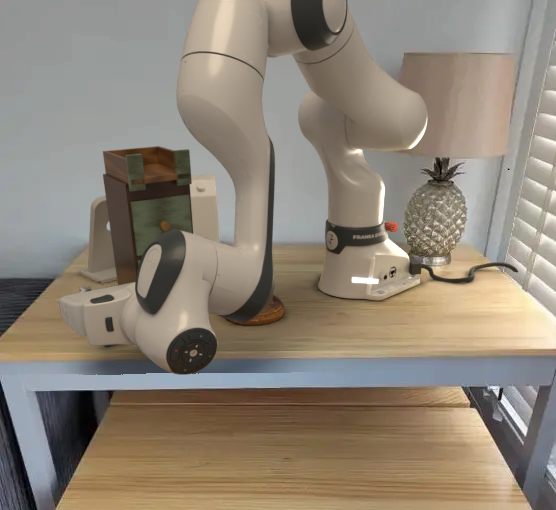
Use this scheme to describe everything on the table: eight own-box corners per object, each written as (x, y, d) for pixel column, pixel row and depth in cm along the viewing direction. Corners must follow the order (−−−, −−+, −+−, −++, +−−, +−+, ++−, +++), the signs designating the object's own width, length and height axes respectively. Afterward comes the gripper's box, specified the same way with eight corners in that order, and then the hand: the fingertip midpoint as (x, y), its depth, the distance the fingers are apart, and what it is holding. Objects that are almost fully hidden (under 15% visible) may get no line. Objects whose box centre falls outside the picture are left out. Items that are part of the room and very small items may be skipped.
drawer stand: (174, 289, 130) (160, 141, 116) (202, 309, 120) (191, 149, 106) (120, 301, 124) (98, 146, 110) (145, 323, 114) (125, 156, 100)
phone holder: (142, 256, 151) (133, 181, 142) (167, 265, 144) (159, 187, 136) (78, 273, 140) (65, 193, 131) (102, 284, 133) (89, 200, 125)
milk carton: (189, 250, 155) (183, 173, 146) (217, 249, 156) (213, 171, 147) (191, 259, 148) (185, 178, 139) (220, 257, 149) (216, 177, 141)
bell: (296, 317, 116) (296, 280, 113) (242, 332, 110) (240, 294, 107) (263, 298, 125) (263, 264, 121) (211, 311, 119) (209, 275, 116)
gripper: (208, 279, 93) (170, 256, 103) (73, 307, 83) (46, 278, 93) (210, 317, 96) (173, 291, 106) (80, 349, 86) (53, 317, 96)
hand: (112, 285), depth 99 cm, fingers open, 8 cm apart
